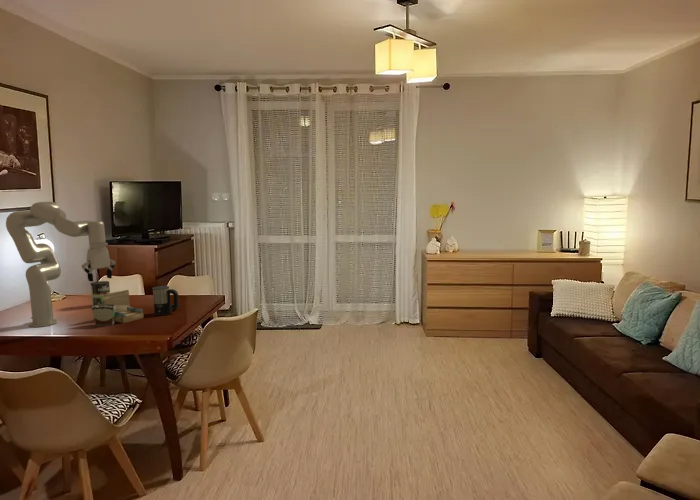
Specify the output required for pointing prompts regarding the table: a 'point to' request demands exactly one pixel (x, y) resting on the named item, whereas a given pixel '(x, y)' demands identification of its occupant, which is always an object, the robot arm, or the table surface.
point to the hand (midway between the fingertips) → (100, 279)
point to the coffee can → (99, 291)
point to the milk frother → (164, 300)
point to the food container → (104, 314)
